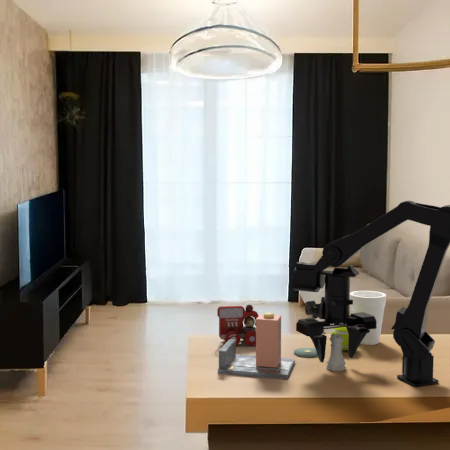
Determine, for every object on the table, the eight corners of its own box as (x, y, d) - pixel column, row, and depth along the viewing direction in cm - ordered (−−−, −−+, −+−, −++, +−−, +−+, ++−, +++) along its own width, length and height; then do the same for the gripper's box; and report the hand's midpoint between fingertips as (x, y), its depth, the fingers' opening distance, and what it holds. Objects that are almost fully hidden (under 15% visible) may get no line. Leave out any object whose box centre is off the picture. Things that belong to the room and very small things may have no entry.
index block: (280, 360, 146) (281, 311, 145) (277, 367, 141) (277, 317, 140) (260, 359, 147) (260, 310, 146) (255, 365, 142) (255, 315, 141)
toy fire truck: (266, 346, 163) (266, 307, 162) (219, 348, 161) (219, 309, 160) (260, 338, 170) (260, 301, 169) (215, 341, 168) (215, 303, 167)
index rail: (294, 362, 148) (294, 342, 148) (287, 379, 137) (287, 357, 136) (230, 357, 152) (230, 338, 152) (217, 373, 141) (217, 352, 140)
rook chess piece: (323, 370, 143) (324, 336, 142) (329, 364, 147) (330, 331, 146) (342, 373, 141) (343, 338, 140) (348, 367, 145) (348, 334, 144)
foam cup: (346, 336, 171) (347, 290, 170) (380, 336, 171) (381, 290, 170) (352, 346, 162) (353, 297, 161) (388, 346, 161) (389, 297, 160)
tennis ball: (345, 355, 154) (345, 329, 154) (325, 349, 159) (325, 323, 159) (362, 350, 158) (362, 324, 158) (342, 344, 164) (342, 319, 163)
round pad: (327, 355, 154) (327, 353, 154) (302, 358, 151) (302, 356, 151) (312, 348, 160) (312, 346, 160) (289, 351, 158) (289, 349, 158)
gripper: (351, 285, 153) (350, 346, 155) (284, 291, 146) (284, 355, 148) (378, 293, 143) (377, 359, 144) (308, 300, 136) (308, 369, 137)
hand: (336, 360), depth 144 cm, fingers open, 8 cm apart
